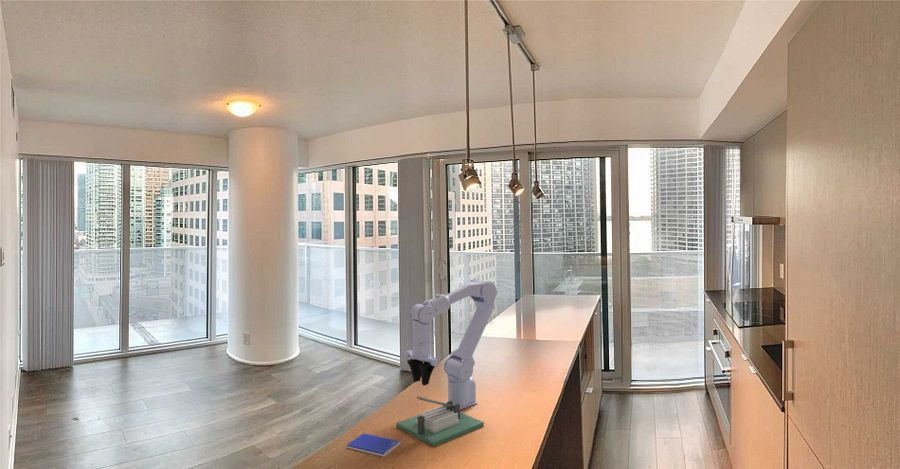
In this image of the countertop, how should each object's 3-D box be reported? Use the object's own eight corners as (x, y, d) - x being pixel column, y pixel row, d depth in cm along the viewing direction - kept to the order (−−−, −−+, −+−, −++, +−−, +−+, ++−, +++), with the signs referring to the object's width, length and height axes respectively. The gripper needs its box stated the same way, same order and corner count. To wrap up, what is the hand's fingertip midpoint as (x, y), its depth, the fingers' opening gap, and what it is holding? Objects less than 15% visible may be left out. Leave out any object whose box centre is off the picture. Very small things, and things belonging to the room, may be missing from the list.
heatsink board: (445, 409, 160) (445, 391, 160) (483, 426, 147) (483, 406, 147) (396, 426, 147) (396, 407, 147) (433, 446, 133) (433, 425, 133)
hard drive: (400, 440, 135) (364, 432, 141) (384, 452, 128) (346, 444, 133) (400, 445, 136) (364, 437, 141) (384, 458, 128) (346, 449, 133)
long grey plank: (451, 407, 151) (452, 404, 151) (455, 408, 150) (456, 405, 150) (416, 398, 142) (417, 395, 142) (420, 400, 140) (421, 397, 141)
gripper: (398, 339, 158) (398, 379, 159) (425, 347, 148) (425, 391, 148) (415, 336, 163) (415, 375, 163) (443, 344, 152) (442, 386, 152)
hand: (421, 382), depth 156 cm, fingers open, 4 cm apart
